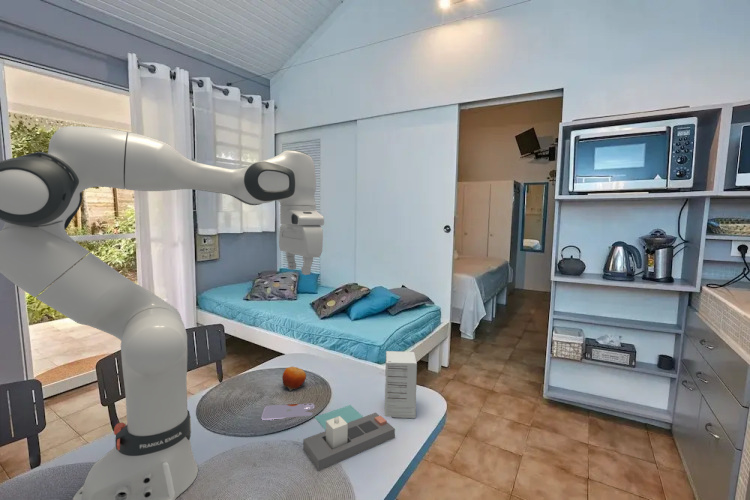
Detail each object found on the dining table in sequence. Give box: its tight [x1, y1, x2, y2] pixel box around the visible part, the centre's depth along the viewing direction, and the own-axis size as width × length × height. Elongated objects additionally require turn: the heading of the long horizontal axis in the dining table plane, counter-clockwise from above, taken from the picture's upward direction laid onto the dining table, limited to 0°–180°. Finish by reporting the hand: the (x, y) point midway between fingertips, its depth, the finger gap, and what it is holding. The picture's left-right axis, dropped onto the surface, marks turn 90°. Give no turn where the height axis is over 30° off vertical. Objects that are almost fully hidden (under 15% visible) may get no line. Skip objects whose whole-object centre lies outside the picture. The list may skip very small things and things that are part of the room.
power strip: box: [302, 412, 396, 472], centre depth 88 cm, size 22×9×4 cm, turn 124°
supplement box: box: [384, 350, 418, 419], centre depth 104 cm, size 10×9×17 cm
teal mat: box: [314, 404, 364, 431], centre depth 99 cm, size 12×9×1 cm
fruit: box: [281, 366, 307, 392], centre depth 118 cm, size 8×8×8 cm
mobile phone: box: [261, 402, 315, 421], centre depth 103 cm, size 8×1×15 cm
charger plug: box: [325, 416, 348, 449], centre depth 86 cm, size 4×4×8 cm
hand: (298, 271), depth 88 cm, fingers open, 8 cm apart
